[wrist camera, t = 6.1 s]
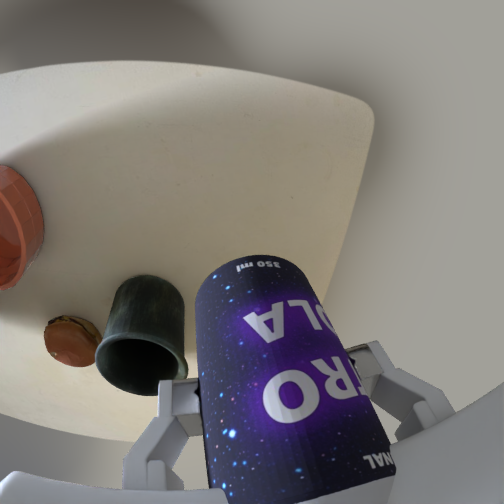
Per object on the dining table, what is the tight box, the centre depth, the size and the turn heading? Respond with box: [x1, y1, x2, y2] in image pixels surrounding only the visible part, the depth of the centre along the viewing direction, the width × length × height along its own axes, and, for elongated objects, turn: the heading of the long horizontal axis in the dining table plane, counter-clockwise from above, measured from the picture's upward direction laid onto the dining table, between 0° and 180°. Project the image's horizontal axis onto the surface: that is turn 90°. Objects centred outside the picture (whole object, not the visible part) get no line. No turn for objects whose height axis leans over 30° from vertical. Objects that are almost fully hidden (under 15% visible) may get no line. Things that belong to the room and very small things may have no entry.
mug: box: [95, 275, 188, 396], centre depth 36 cm, size 11×15×12 cm
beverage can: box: [195, 255, 397, 504], centre depth 10 cm, size 6×6×12 cm
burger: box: [44, 316, 102, 367], centre depth 39 cm, size 10×9×5 cm
